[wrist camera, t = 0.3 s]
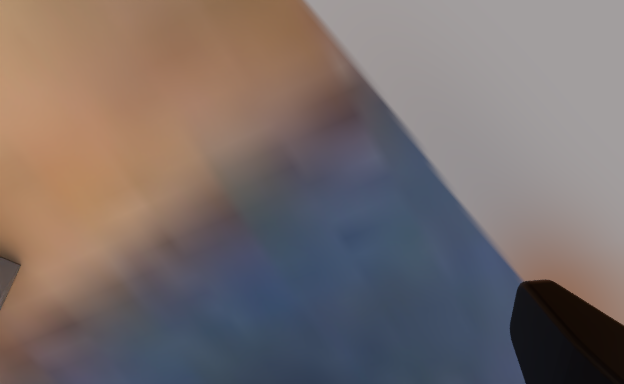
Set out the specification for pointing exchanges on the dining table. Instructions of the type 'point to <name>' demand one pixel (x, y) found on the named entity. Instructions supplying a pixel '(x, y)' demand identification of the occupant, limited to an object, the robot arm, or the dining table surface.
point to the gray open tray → (6, 277)
